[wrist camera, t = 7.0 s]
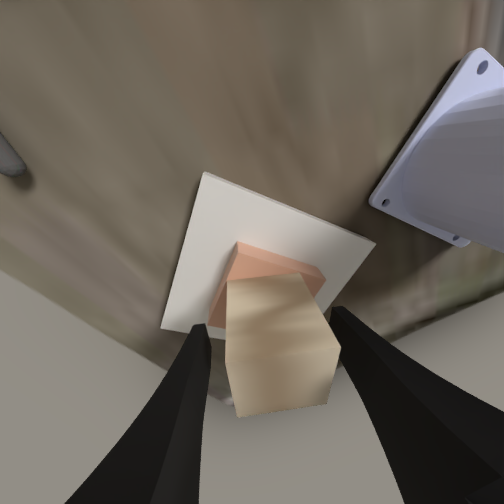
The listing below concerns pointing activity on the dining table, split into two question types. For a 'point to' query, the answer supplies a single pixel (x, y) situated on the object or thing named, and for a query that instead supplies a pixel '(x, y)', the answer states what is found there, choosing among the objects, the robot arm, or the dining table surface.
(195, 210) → the base plate
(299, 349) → the birch block
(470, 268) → the dining table surface
